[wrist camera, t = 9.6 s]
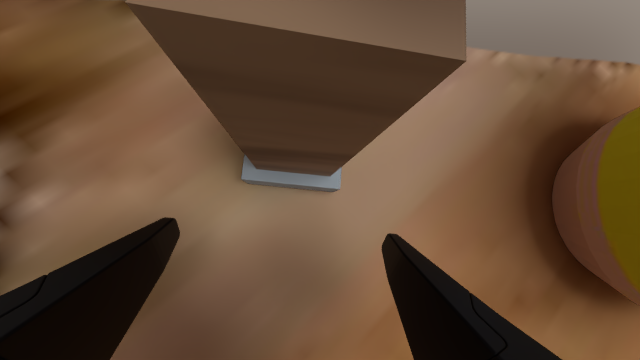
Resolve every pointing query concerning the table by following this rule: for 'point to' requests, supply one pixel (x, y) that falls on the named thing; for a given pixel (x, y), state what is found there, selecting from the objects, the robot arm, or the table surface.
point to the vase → (604, 203)
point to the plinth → (290, 178)
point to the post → (308, 69)
